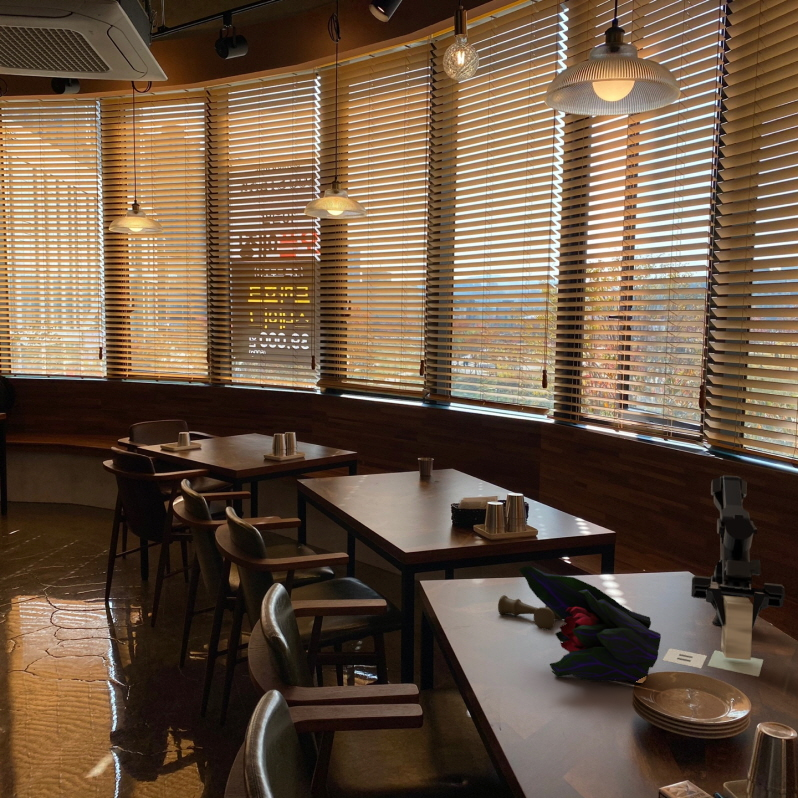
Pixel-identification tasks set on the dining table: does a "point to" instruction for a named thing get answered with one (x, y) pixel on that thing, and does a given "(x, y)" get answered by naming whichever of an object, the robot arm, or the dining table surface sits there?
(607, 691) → the dining table surface
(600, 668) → the decorative plant
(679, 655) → the tile
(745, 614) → the maple block
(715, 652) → the green mat
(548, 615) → the kendama
